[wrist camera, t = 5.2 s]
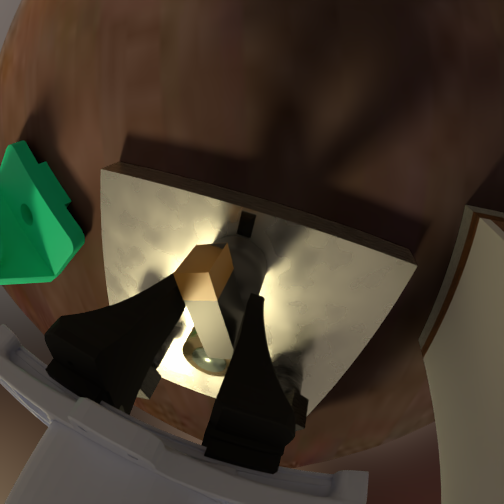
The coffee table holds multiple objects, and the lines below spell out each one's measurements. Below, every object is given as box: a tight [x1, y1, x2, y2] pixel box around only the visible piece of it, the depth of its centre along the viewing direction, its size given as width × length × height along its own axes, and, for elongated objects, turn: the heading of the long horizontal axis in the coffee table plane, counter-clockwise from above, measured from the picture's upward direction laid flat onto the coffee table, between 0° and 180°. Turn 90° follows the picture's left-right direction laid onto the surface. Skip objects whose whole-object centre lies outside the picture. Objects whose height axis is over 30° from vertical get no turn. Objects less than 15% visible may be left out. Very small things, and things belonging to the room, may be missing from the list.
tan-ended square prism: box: [173, 236, 267, 359], centre depth 15 cm, size 5×4×5 cm
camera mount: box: [0, 140, 85, 285], centre depth 17 cm, size 12×8×10 cm, turn 37°
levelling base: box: [101, 162, 417, 431], centre depth 19 cm, size 20×20×7 cm
